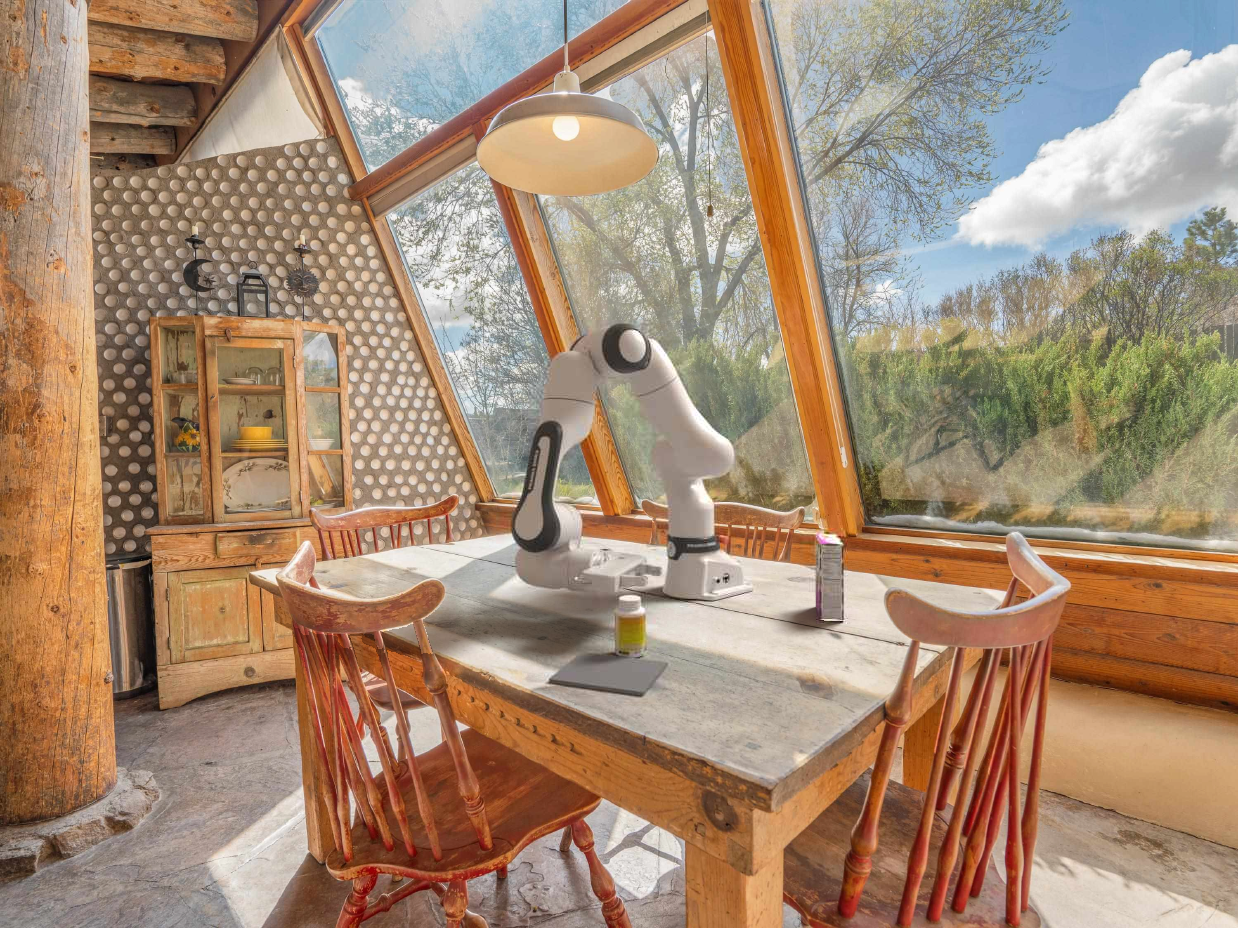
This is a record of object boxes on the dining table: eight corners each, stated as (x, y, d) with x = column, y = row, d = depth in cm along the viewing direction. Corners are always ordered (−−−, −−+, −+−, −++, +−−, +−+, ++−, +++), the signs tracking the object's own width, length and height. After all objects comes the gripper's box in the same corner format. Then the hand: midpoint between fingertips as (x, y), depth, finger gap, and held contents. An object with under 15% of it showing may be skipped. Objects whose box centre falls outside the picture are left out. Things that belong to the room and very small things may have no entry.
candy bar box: (813, 606, 145) (814, 533, 144) (837, 607, 144) (837, 534, 143) (819, 621, 134) (819, 542, 133) (844, 622, 133) (845, 543, 132)
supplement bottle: (651, 655, 116) (650, 599, 115) (623, 661, 113) (622, 603, 112) (637, 646, 121) (636, 592, 120) (610, 651, 118) (609, 596, 117)
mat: (582, 654, 116) (582, 651, 116) (667, 665, 111) (667, 662, 111) (549, 682, 104) (548, 678, 104) (643, 695, 99) (643, 691, 99)
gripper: (567, 565, 123) (636, 571, 118) (608, 547, 142) (669, 551, 137) (567, 598, 123) (636, 605, 118) (608, 575, 142) (668, 581, 137)
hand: (654, 576), depth 128 cm, fingers open, 8 cm apart
